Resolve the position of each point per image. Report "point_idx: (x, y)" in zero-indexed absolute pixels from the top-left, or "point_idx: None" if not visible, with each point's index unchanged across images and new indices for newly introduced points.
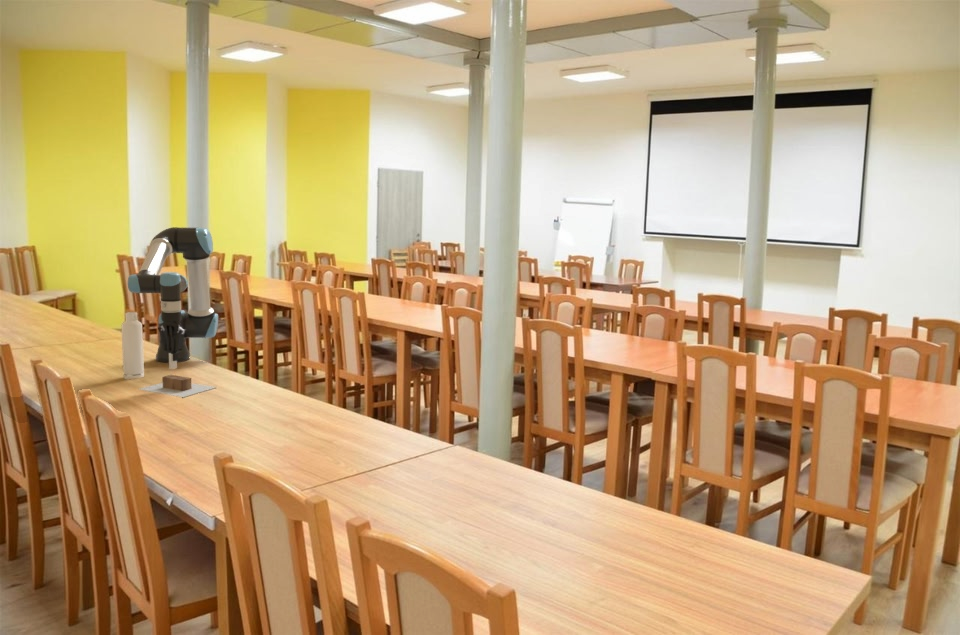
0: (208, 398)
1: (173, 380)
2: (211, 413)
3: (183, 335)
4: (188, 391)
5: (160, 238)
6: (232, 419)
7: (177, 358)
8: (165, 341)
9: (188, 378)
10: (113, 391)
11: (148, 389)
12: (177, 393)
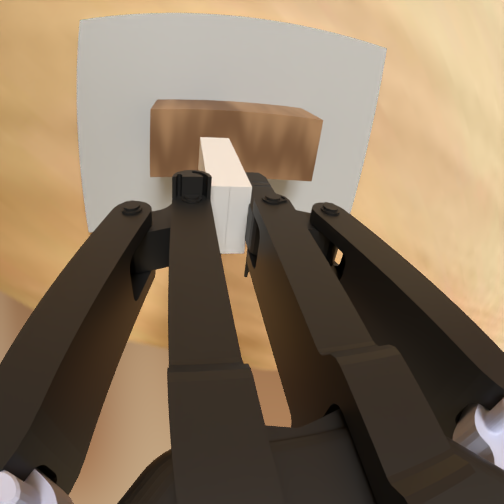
0: (421, 193)
1: None
2: (457, 290)
3: (487, 351)
4: (318, 155)
5: None
6: (490, 293)
7: (268, 184)
8: (120, 327)
9: (317, 137)
10: (44, 282)
11: None
12: (295, 202)
